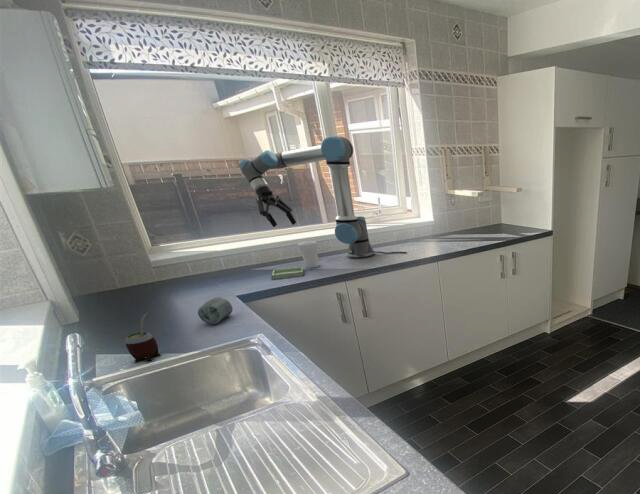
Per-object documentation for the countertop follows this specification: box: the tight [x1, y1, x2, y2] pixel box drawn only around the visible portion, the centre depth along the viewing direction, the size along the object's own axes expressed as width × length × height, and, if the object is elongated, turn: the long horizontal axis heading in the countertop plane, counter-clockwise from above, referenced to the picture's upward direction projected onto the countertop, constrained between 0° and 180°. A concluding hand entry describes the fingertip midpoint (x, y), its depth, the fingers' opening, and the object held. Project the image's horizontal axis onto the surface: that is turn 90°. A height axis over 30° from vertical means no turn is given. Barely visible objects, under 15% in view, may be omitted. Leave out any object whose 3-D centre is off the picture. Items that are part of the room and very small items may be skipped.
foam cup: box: [297, 240, 319, 269], centre depth 232 cm, size 10×9×13 cm
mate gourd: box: [124, 311, 161, 363], centre depth 129 cm, size 8×8×15 cm
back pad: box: [271, 266, 304, 280], centre depth 220 cm, size 14×12×2 cm
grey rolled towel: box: [197, 296, 234, 326], centre depth 160 cm, size 14×10×10 cm
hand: (285, 224), depth 229 cm, fingers open, 13 cm apart
